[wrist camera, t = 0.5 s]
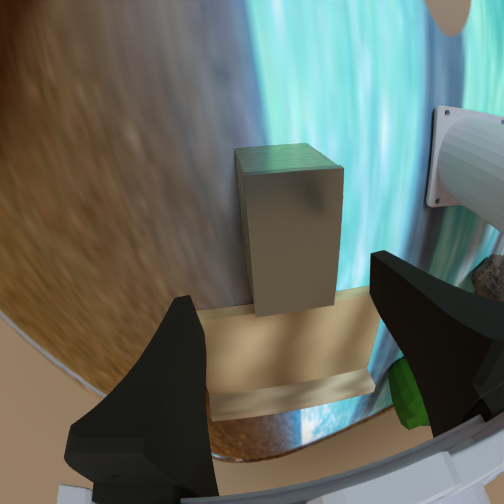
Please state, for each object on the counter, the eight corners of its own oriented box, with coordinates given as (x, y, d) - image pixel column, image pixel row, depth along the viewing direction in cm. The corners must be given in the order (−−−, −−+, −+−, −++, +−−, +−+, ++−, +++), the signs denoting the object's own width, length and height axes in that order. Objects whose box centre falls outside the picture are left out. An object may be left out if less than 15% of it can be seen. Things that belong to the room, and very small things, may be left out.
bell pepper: (393, 391, 36) (422, 452, 27) (368, 370, 32) (402, 443, 24) (445, 353, 34) (482, 411, 25) (429, 324, 30) (476, 393, 21)
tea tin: (233, 147, 19) (244, 175, 14) (307, 142, 19) (344, 167, 14) (244, 260, 23) (255, 317, 18) (307, 252, 23) (334, 305, 18)
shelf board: (380, 283, 26) (400, 310, 23) (361, 366, 31) (372, 393, 28) (188, 311, 25) (187, 345, 21) (210, 392, 30) (212, 422, 27)
